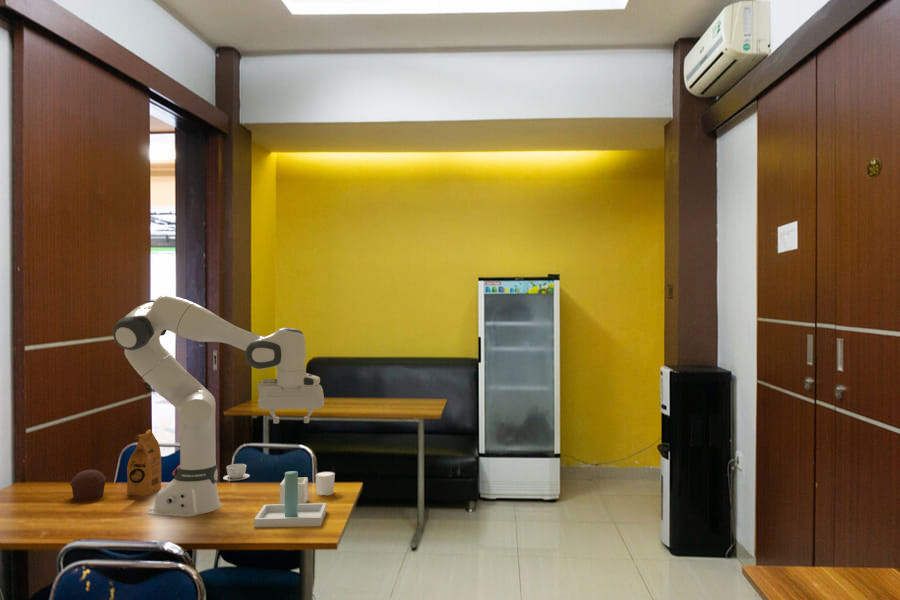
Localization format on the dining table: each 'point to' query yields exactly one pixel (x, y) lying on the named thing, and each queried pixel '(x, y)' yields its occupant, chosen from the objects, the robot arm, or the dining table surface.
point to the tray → (276, 517)
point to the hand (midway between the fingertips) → (291, 422)
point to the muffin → (88, 485)
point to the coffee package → (144, 466)
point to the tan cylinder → (325, 483)
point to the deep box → (301, 491)
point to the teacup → (236, 472)
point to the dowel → (291, 494)
